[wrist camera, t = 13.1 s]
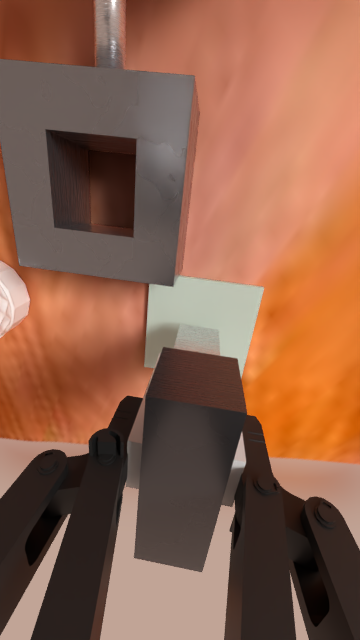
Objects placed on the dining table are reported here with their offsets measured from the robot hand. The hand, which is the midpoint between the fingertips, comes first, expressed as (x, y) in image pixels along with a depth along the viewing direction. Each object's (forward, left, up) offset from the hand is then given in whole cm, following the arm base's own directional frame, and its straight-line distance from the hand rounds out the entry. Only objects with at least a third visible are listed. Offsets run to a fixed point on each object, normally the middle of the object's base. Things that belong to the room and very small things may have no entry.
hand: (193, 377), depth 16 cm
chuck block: (-14, -7, -7) cm, 17 cm away
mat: (0, 0, -7) cm, 7 cm away
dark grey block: (0, 0, -5) cm, 5 cm away
